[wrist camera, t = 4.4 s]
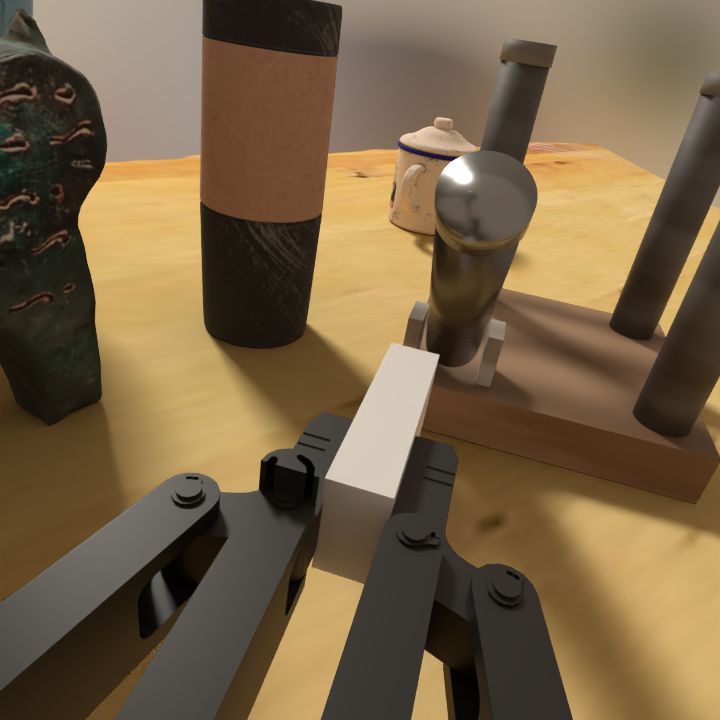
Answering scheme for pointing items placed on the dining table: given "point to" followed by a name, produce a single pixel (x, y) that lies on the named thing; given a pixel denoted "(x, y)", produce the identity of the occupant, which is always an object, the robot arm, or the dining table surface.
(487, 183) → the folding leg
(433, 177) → the teacup with lid
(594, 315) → the stool
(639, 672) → the dining table surface
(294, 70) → the travel mug
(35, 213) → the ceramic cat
